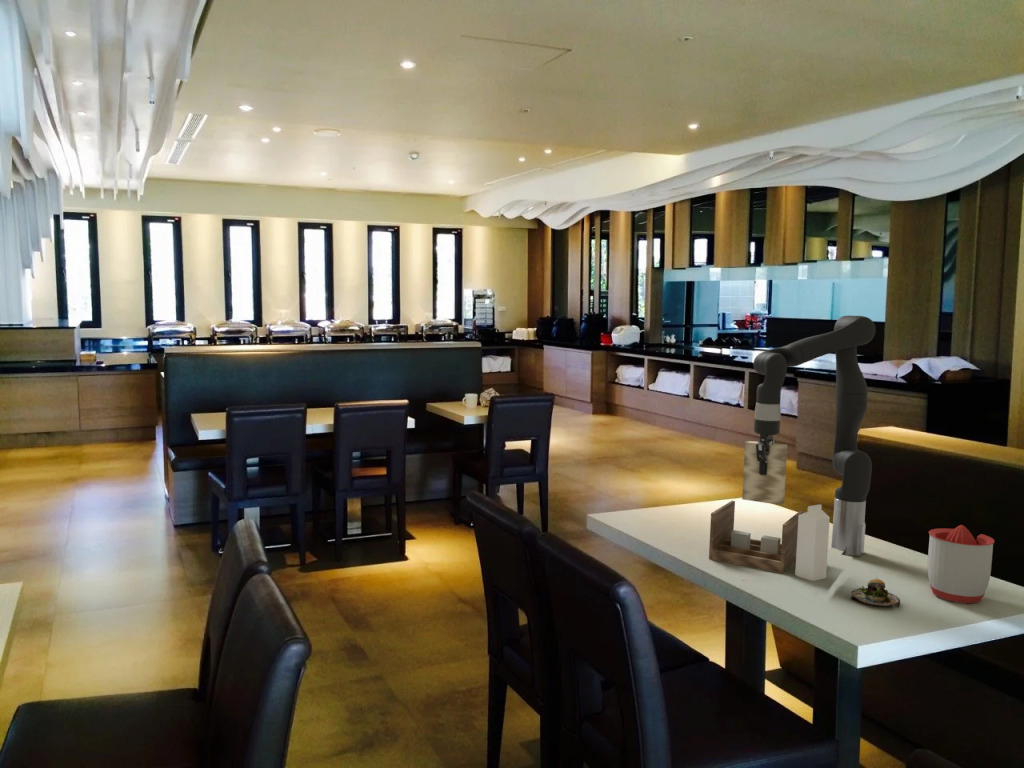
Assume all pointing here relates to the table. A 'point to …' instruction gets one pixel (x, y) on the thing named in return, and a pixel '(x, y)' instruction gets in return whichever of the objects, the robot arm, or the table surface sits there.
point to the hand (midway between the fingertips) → (764, 473)
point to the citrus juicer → (959, 564)
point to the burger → (875, 594)
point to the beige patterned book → (767, 485)
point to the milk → (812, 544)
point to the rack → (752, 558)
